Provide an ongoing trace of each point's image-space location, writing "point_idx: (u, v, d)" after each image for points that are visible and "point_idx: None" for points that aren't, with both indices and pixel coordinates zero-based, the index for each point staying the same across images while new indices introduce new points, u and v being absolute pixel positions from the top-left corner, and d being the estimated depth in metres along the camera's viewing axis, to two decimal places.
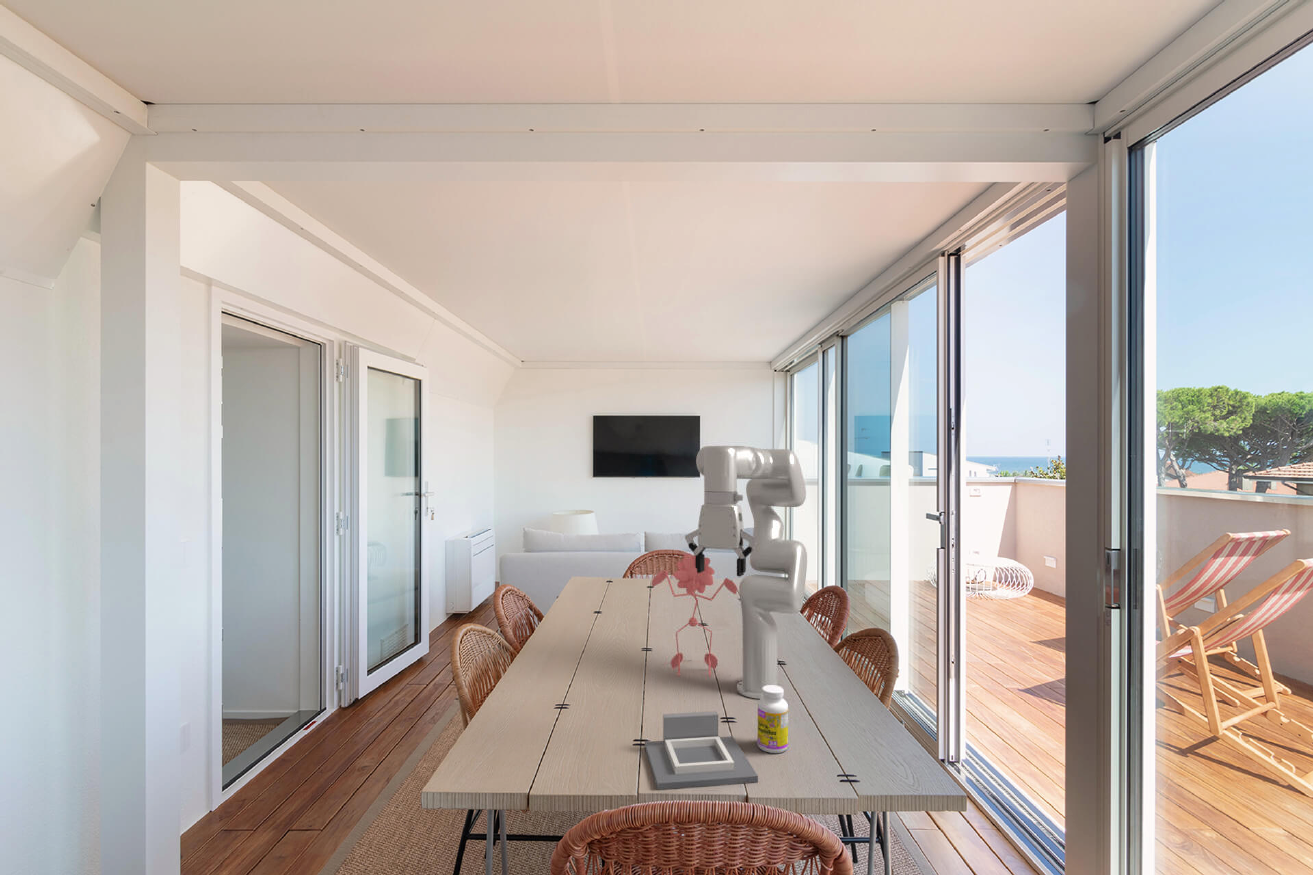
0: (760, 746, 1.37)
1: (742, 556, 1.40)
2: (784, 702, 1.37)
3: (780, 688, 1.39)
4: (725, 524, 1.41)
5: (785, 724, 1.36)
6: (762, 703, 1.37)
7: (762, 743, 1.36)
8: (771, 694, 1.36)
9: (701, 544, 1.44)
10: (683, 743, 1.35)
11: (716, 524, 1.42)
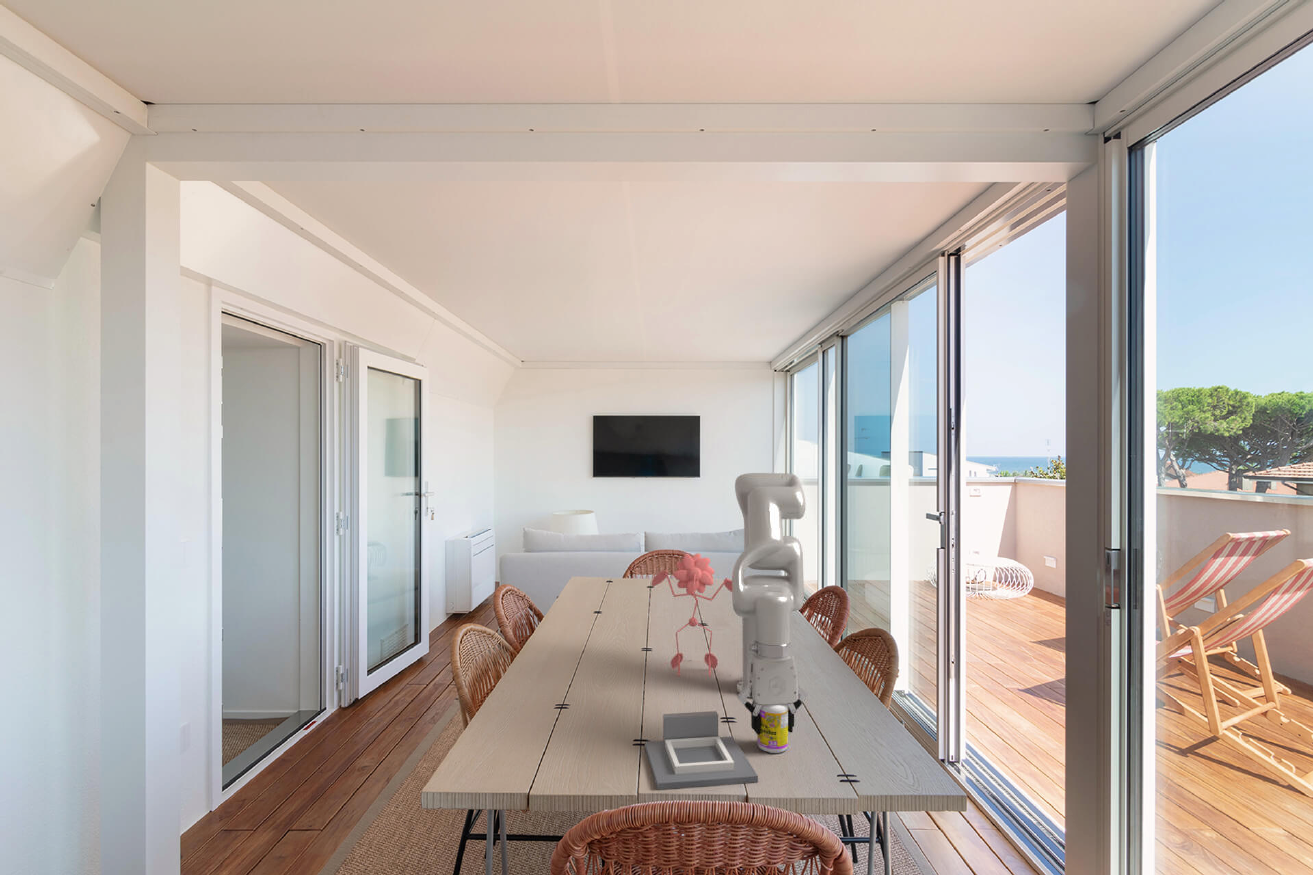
0: (760, 746, 1.37)
1: None
2: None
3: None
4: None
5: (785, 724, 1.36)
6: None
7: (762, 743, 1.36)
8: None
9: None
10: (683, 743, 1.35)
11: None
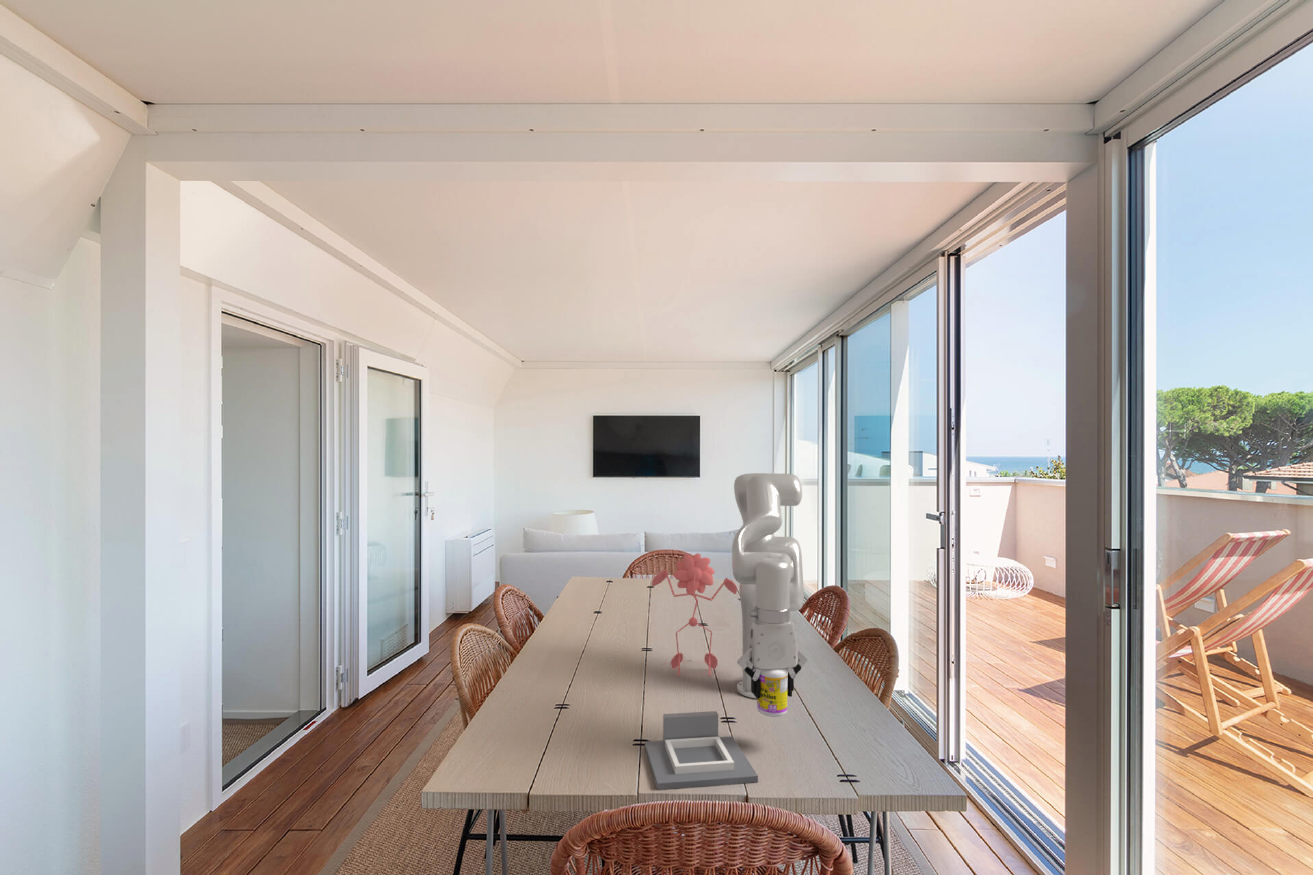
0: (760, 710, 1.38)
1: None
2: None
3: None
4: None
5: (785, 688, 1.37)
6: None
7: (761, 707, 1.37)
8: None
9: None
10: (683, 743, 1.35)
11: None
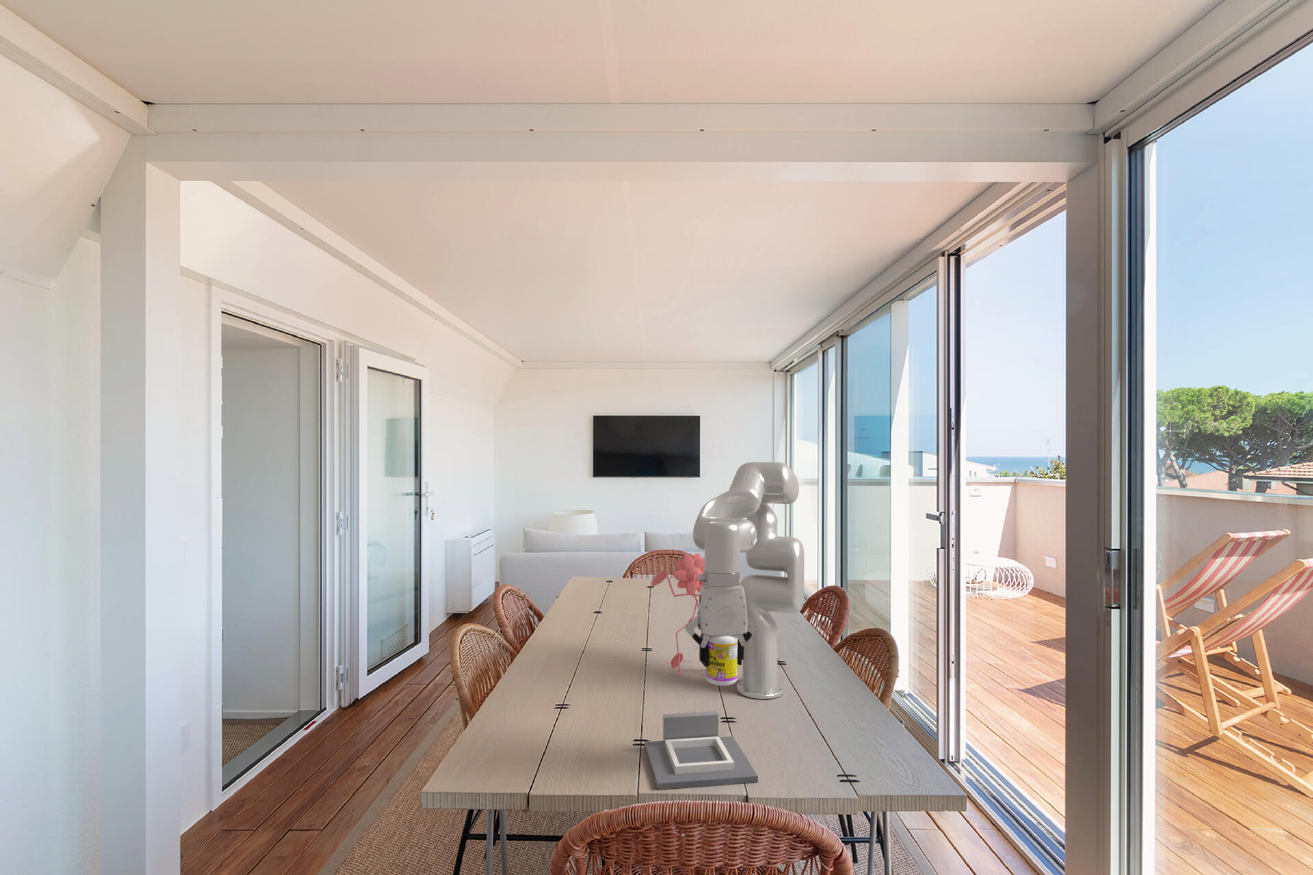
0: (708, 679, 1.32)
1: None
2: None
3: None
4: None
5: (734, 656, 1.31)
6: None
7: (710, 676, 1.31)
8: None
9: None
10: (683, 743, 1.35)
11: None
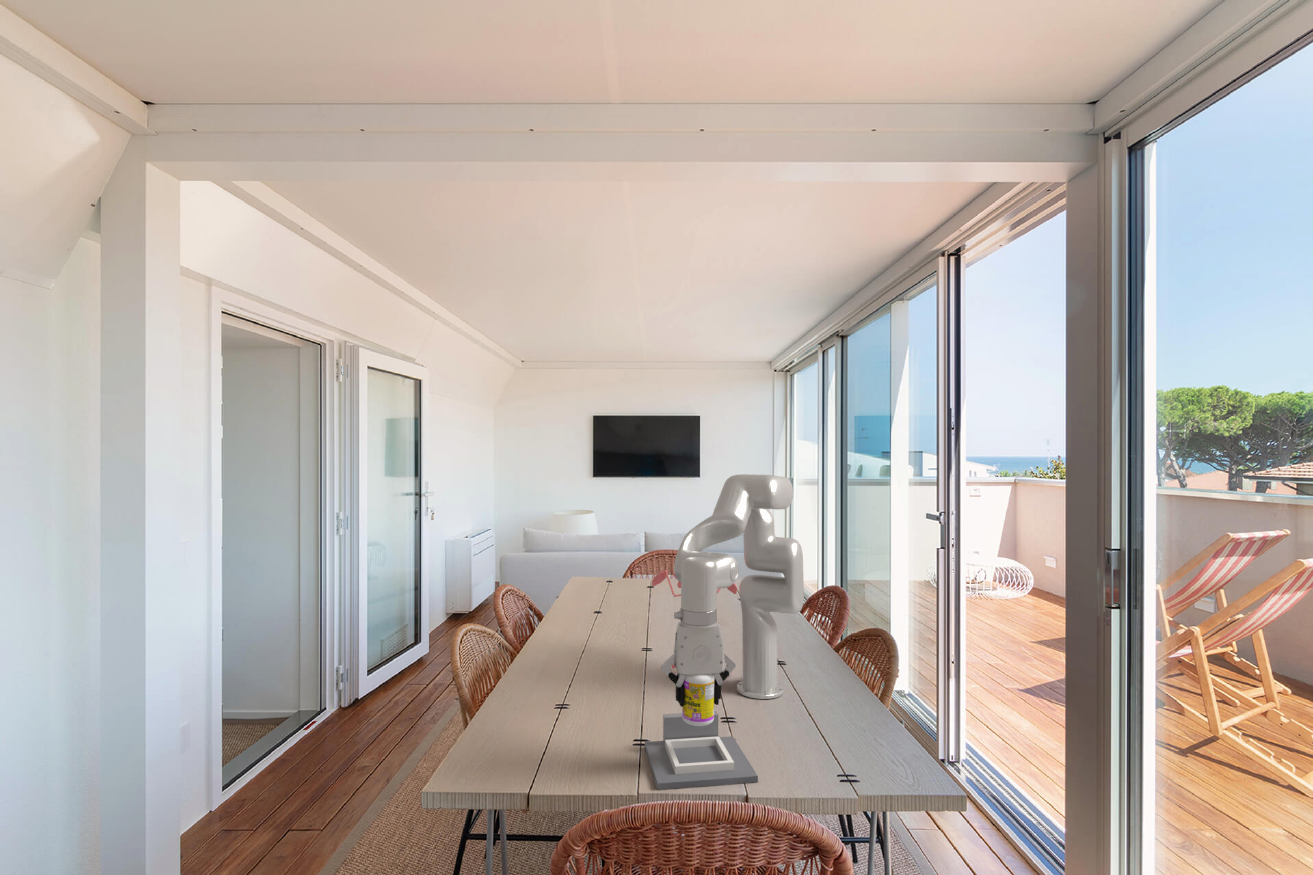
0: (684, 719, 1.29)
1: None
2: None
3: None
4: None
5: (710, 695, 1.29)
6: None
7: (685, 716, 1.29)
8: None
9: None
10: (683, 743, 1.35)
11: None
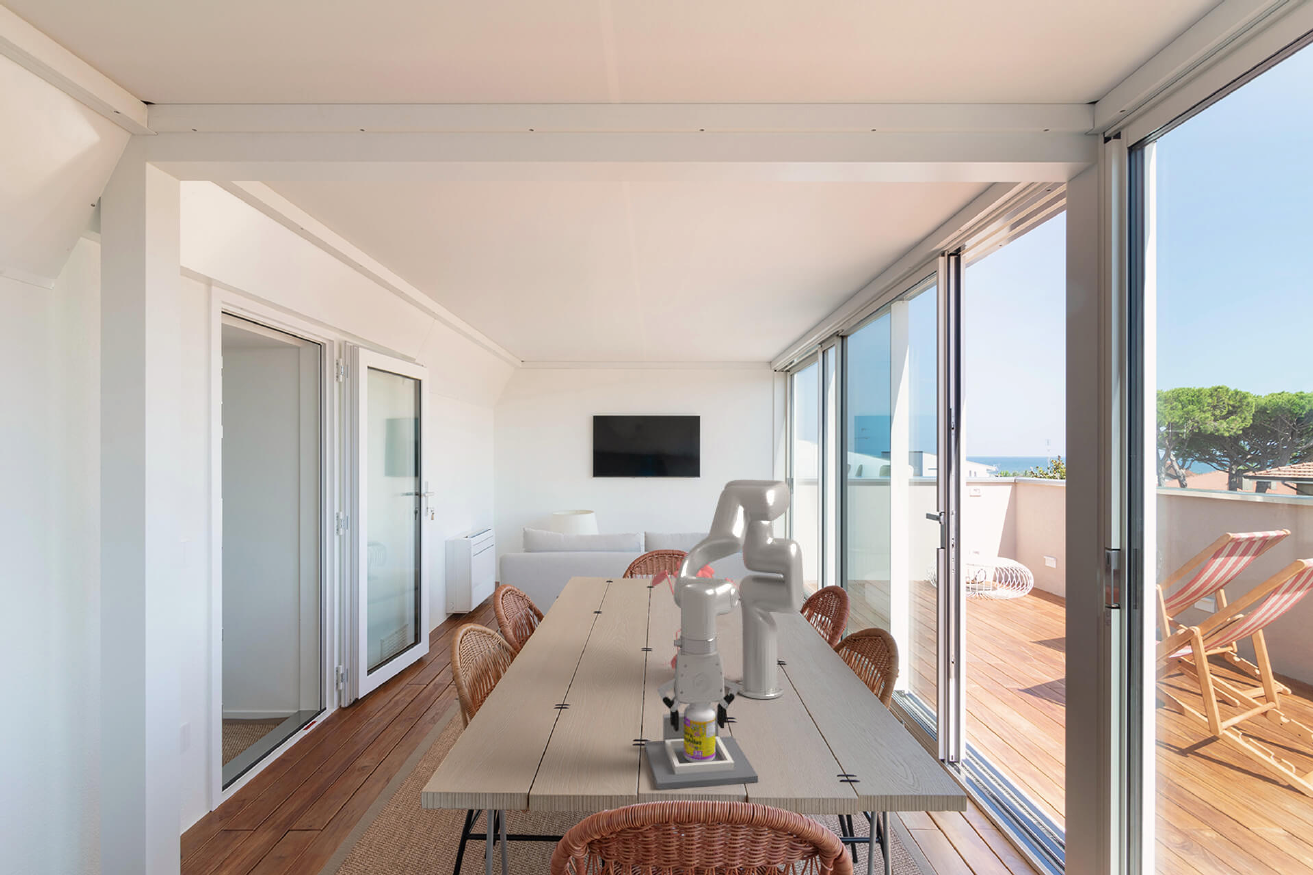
0: (685, 756, 1.29)
1: None
2: (711, 710, 1.30)
3: None
4: None
5: (711, 733, 1.29)
6: (687, 711, 1.30)
7: (687, 753, 1.29)
8: None
9: None
10: (683, 743, 1.35)
11: None
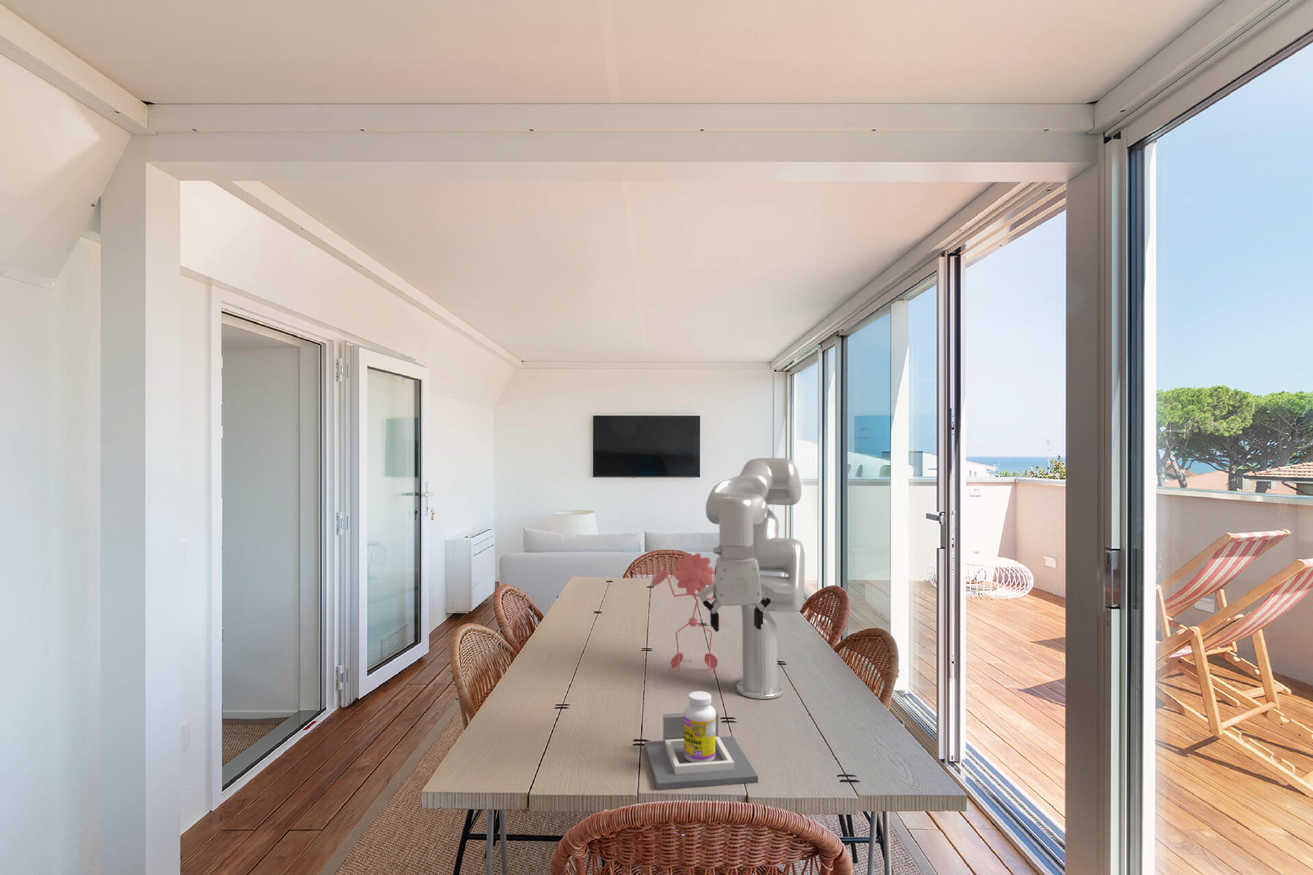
0: (685, 756, 1.29)
1: None
2: (711, 710, 1.30)
3: (708, 695, 1.31)
4: None
5: (711, 733, 1.29)
6: (687, 711, 1.30)
7: (687, 753, 1.29)
8: (696, 701, 1.29)
9: None
10: (683, 743, 1.35)
11: None
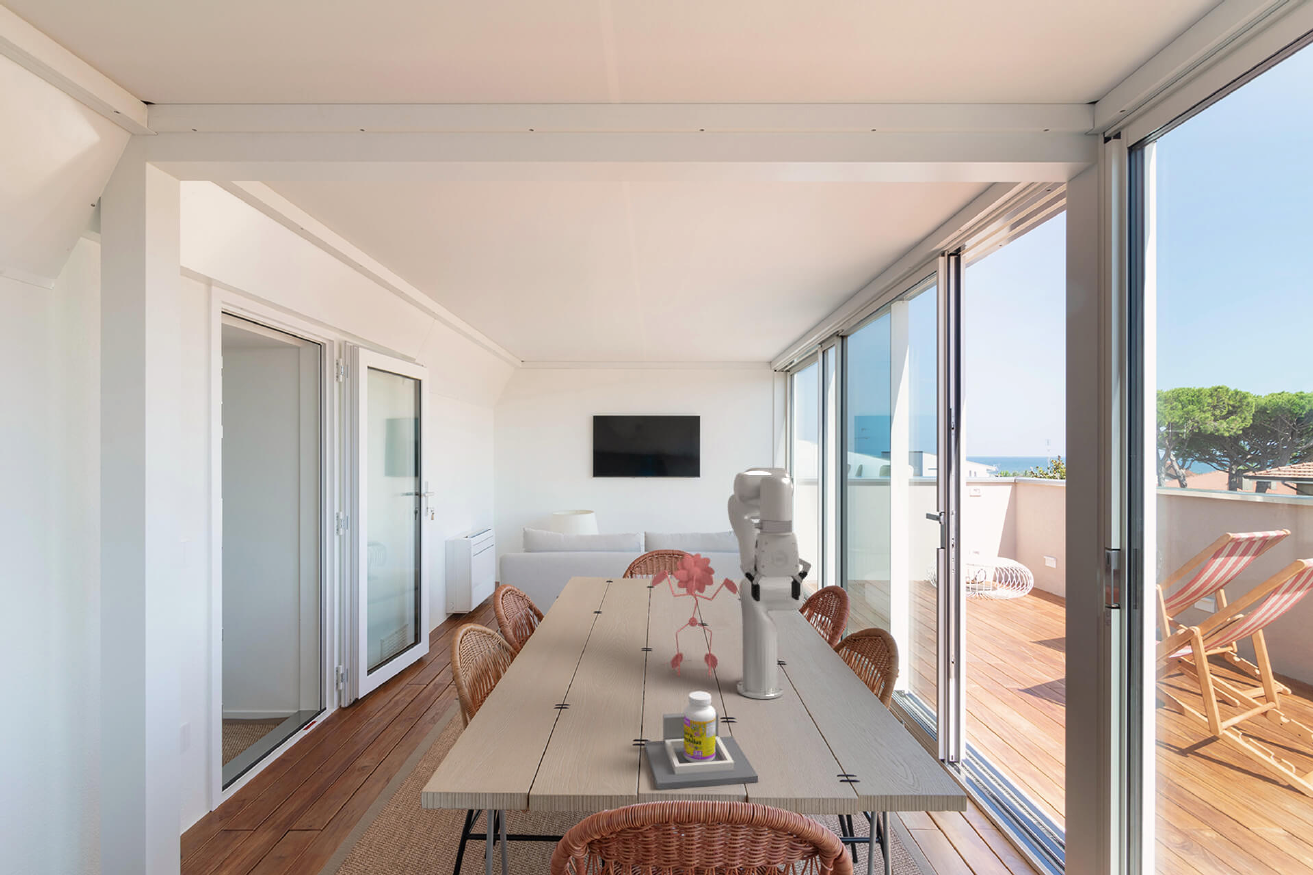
0: (685, 756, 1.29)
1: None
2: (711, 710, 1.30)
3: (708, 695, 1.31)
4: None
5: (711, 733, 1.29)
6: (687, 711, 1.30)
7: (687, 753, 1.29)
8: (696, 701, 1.29)
9: None
10: (683, 743, 1.35)
11: None
